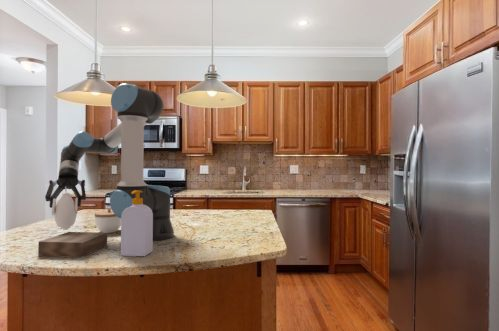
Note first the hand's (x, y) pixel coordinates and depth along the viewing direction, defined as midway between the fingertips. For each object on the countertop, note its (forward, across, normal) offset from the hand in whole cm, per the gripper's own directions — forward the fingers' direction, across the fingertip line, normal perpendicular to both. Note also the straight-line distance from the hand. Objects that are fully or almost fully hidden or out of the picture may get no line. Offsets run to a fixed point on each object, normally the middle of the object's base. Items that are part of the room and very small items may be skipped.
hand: (64, 212), depth 122 cm
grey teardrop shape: (+3, 0, -8) cm, 9 cm away
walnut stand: (+18, -5, 0) cm, 19 cm away
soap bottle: (+30, -25, +11) cm, 40 cm away
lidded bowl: (-3, -17, -22) cm, 28 cm away
